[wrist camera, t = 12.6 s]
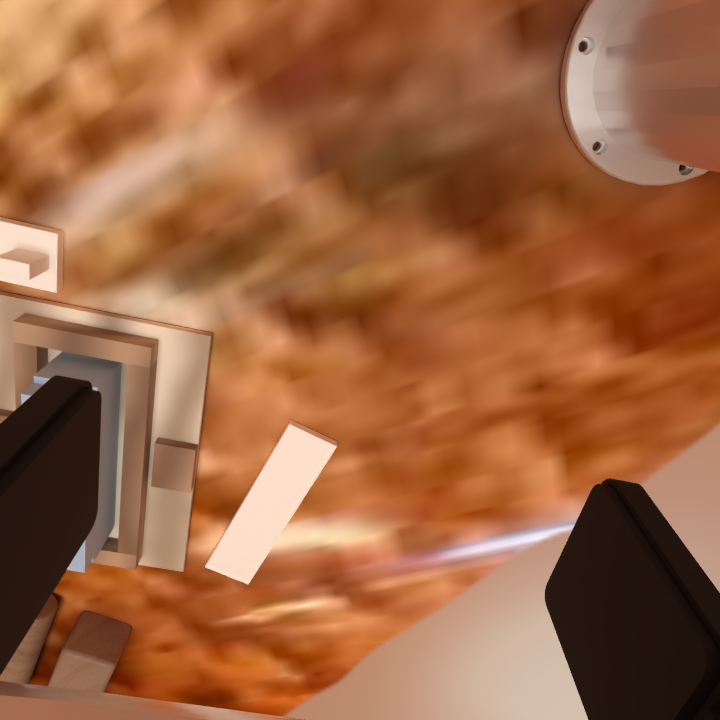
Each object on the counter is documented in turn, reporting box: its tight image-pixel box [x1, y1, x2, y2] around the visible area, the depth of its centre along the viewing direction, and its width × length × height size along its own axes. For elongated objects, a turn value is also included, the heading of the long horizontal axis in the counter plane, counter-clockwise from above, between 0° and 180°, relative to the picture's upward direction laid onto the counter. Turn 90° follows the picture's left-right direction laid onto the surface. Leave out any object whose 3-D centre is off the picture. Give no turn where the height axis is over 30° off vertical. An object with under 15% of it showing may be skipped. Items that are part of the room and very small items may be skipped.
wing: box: [205, 420, 337, 584], centre depth 46 cm, size 4×16×1 cm, turn 151°
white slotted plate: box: [0, 217, 64, 293], centre depth 36 cm, size 6×4×4 cm, turn 77°
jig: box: [0, 291, 213, 572], centre depth 43 cm, size 16×22×2 cm
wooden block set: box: [0, 594, 132, 693], centre depth 51 cm, size 17×6×18 cm
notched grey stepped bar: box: [21, 351, 122, 573], centre depth 41 cm, size 16×4×6 cm, turn 168°
